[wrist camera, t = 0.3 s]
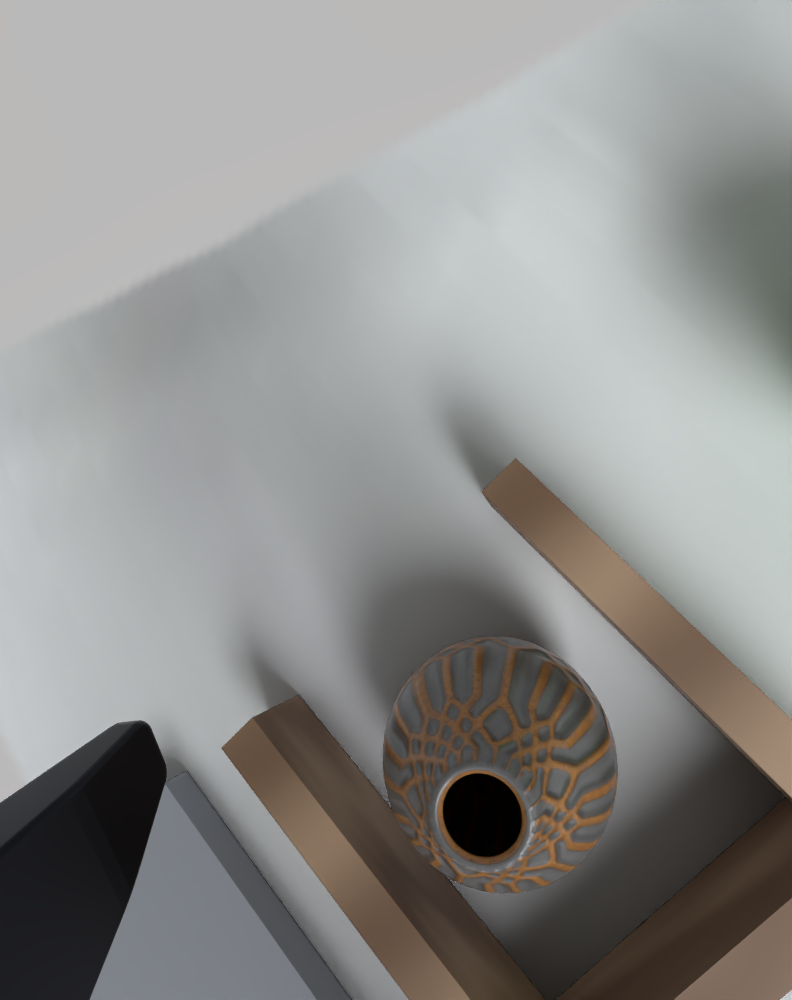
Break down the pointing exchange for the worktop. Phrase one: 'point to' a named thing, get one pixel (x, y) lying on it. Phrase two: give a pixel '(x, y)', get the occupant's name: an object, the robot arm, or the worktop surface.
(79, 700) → the worktop surface
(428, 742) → the vase
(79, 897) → the robot arm
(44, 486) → the worktop surface
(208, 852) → the board
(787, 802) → the holder
